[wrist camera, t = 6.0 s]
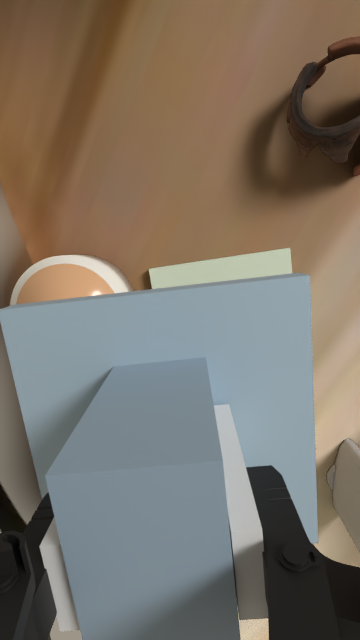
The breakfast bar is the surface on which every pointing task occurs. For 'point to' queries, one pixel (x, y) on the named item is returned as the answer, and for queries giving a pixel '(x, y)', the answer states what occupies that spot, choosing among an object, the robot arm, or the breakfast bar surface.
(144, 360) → the lid
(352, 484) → the tall pale column
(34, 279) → the bowl
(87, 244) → the breakfast bar surface
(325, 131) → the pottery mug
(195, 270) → the mat
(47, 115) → the breakfast bar surface
